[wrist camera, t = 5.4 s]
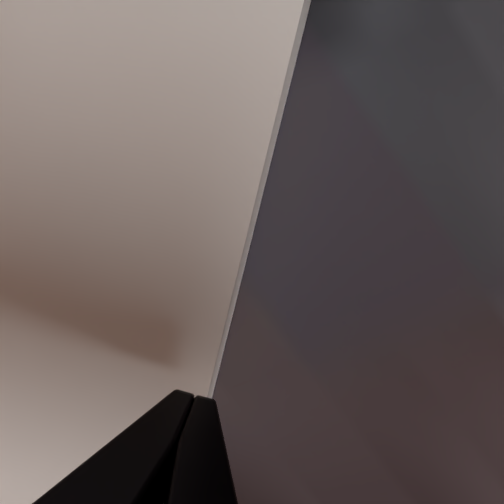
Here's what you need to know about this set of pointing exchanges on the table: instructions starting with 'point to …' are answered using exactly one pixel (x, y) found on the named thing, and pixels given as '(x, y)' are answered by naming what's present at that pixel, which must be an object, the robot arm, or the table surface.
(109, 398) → the white block with cutout
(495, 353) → the table surface
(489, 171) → the table surface
